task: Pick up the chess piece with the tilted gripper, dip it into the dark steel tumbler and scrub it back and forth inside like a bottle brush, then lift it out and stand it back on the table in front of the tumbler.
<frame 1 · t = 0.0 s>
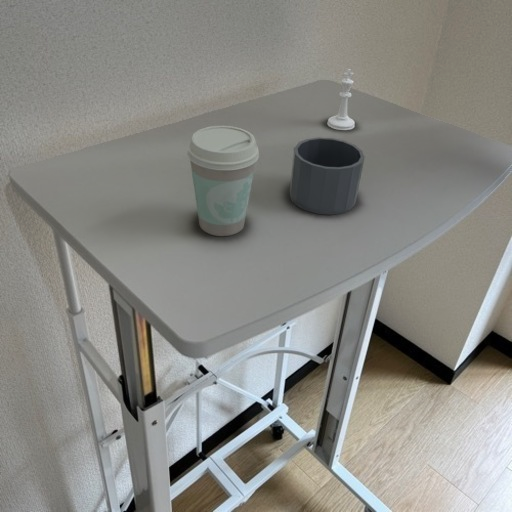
coffee cup: (221, 225, 72), on the table
tumbler: (322, 197, 78), on the table
chess piece: (340, 125, 100), on the table
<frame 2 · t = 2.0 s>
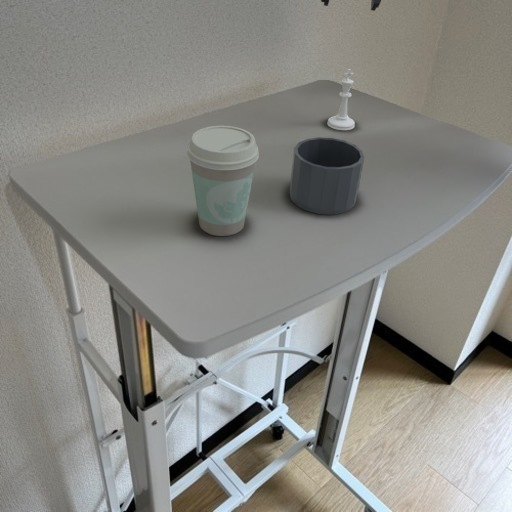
hand: (350, 5, 98), 18 cm above the table, tool tilted 45°, fingers open, 8 cm apart
nothing on the table moved.
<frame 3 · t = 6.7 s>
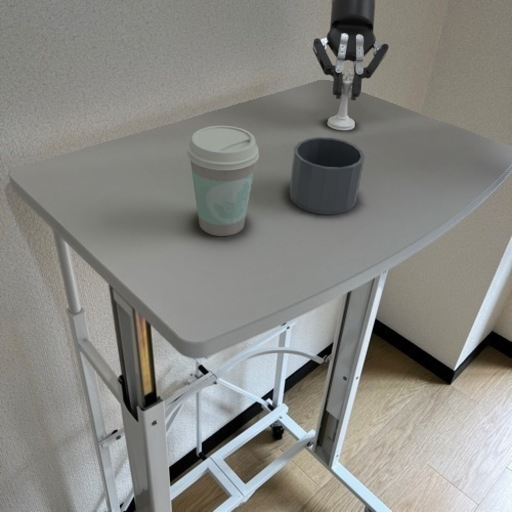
hand: (346, 97, 94), 6 cm above the table, tool tilted 45°, fingers closed on chess piece
chess piece: (340, 125, 100), on the table, touching gripper
everything else where it was.
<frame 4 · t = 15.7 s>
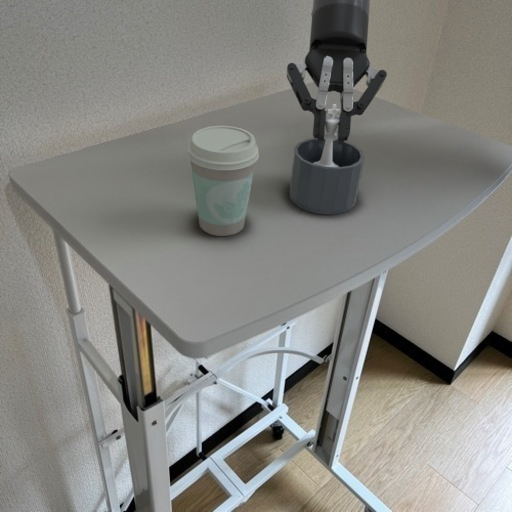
hand: (330, 141, 71), 10 cm above the table, tool tilted 45°, fingers closed on chess piece
chess piece: (324, 175, 76), point 4 cm above the table, touching gripper
everything else where it was.
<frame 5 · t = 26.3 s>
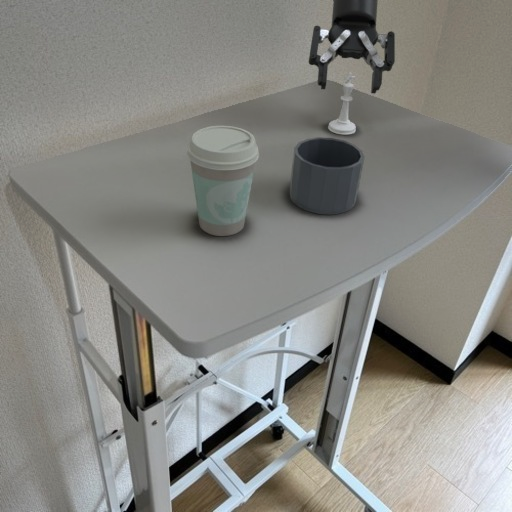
hand: (348, 89, 93), 8 cm above the table, tool tilted 45°, fingers open, 8 cm apart
chess piece: (341, 130, 98), on the table
everything else where it was.
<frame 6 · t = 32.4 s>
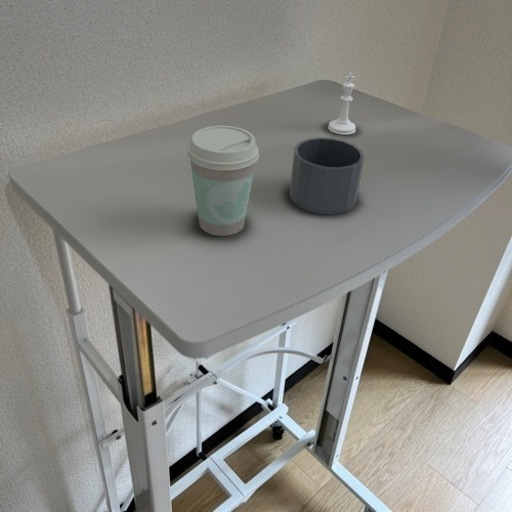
nothing on the table moved.
at the end: chess piece inside the target area on the table beside the tumbler (0.2 cm from its centre), on the table; chess piece tilted 0°; the gripper is holding nothing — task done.
